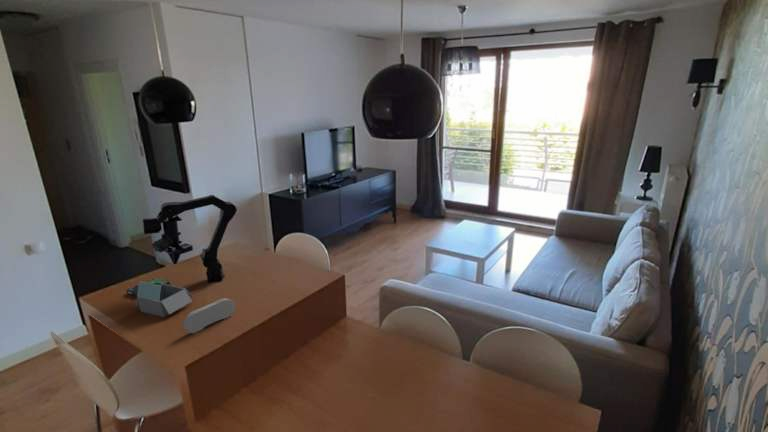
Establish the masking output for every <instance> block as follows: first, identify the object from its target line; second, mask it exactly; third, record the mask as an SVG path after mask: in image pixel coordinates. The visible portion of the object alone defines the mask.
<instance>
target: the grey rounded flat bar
mask: <svg viewBox="0 0 768 432" xmlns="http://www.w3.org/2000/svg"><path fill="white" fill-rule="evenodd" d="M235 306H236V305H235V302H234V301H233V300H231V299H229V298H226V297H225V298H220V299H219V300H216V301H214V302H212V303H210V304H209V303H208V304H207V305H204V306H203V307H200V308H197V309H195V310H193V311H191V312H189V313H187V315H186V316H185V318H184V320H183V329H184V330H185V331H186V332H188V333H190V334H196V333H195V332H197V331H200V330H201V331H202V330H203V329H204V328H205V327H208V326H209V325H212V324H214V323H216V322H218V321H220V320H222V319H224V320H226V319H225V318H226V317H229V316H230V317H231V316H232V315H233V314H234V311H235ZM230 317H229V318H230ZM201 331H200V332H201ZM197 333H198V332H197Z"/></svg>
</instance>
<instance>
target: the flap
mask: <svg viewBox="0 0 768 432" xmlns="http://www.w3.org/2000/svg"><path fill="white" fill-rule="evenodd" d="M147 282H148V281H146V282H145V281H142V280H141V281H139V280H138V285H137V286H138V293H137V296H140V297H145V298H149V299H153V300H157V301H159V300H160V291H161V286H160V285H156V284H151V283H147Z"/></svg>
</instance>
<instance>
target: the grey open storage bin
mask: <svg viewBox="0 0 768 432" xmlns="http://www.w3.org/2000/svg"><path fill="white" fill-rule="evenodd" d="M160 286H161V291H160V300H159V301H157V300H153V299H149V298H145V297H140V296H137V298H136V301H135V302H136V303H135V306H136V307H138V306H139V311H140V312H141V313H145V314H148V315H153V316H156V317H160V318H163V319H164V318H166V317H167V316H169V315H171V314H173V313H175V312H176V311H178V310H180V309H182V308H183V307H185V306H187V305H188V304H191V303H192V302H193V300H192V298H191V297H194V295H193V294H192V293H191V292H190V291H189V290H188V289H187V288H185V287H183V286H178V285H172V284H170V285H168V284H161V285H160Z"/></svg>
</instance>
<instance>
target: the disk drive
mask: <svg viewBox="0 0 768 432" xmlns="http://www.w3.org/2000/svg"><path fill="white" fill-rule="evenodd" d="M146 282H147V283H151V284H156V285H161V284H168V285H171V282H170V281H169V280H168V279H163V278H161V277H157V278H153V279H150V280H147V281H146ZM125 292H126V294H127V295H129V296H130V297H133V298H136V299H137V293H138V285H135V286H132V287H130V288H128V289H126V291H125Z"/></svg>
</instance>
